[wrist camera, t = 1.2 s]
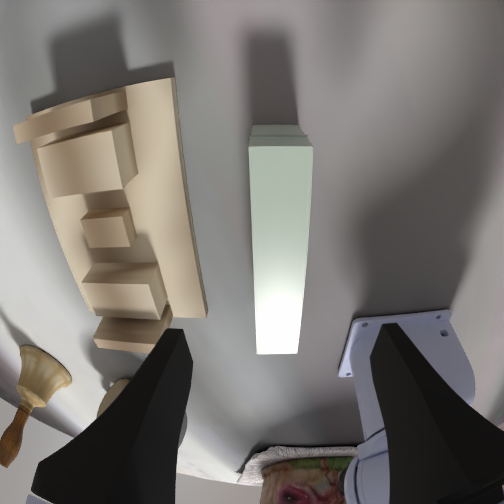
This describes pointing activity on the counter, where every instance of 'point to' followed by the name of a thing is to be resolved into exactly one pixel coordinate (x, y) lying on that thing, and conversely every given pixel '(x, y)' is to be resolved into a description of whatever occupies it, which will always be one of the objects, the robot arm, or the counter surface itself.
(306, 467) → the cookie jar
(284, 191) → the glasses case
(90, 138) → the display stand
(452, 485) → the robot arm
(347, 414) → the counter surface
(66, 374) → the hand bell
